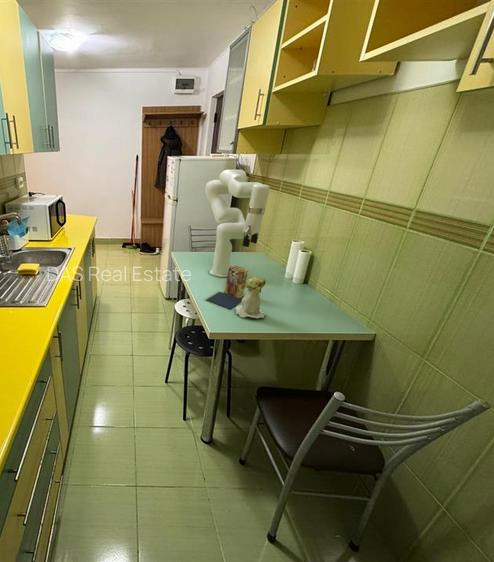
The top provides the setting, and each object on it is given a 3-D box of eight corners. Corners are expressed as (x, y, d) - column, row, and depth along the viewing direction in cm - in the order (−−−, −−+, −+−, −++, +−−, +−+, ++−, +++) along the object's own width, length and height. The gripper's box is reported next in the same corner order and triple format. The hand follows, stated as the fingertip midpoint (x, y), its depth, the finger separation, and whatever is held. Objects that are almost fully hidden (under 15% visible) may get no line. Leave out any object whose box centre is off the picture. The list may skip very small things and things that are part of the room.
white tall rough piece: (268, 321, 136) (278, 284, 129) (239, 319, 137) (247, 282, 129) (259, 308, 147) (267, 273, 140) (232, 307, 148) (239, 272, 140)
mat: (219, 292, 163) (219, 291, 163) (242, 300, 155) (243, 299, 155) (206, 300, 154) (206, 299, 154) (230, 309, 146) (230, 308, 146)
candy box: (243, 296, 159) (249, 269, 153) (239, 298, 157) (244, 271, 150) (228, 290, 165) (233, 264, 159) (223, 292, 163) (228, 266, 157)
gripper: (256, 207, 157) (249, 239, 164) (241, 211, 145) (234, 246, 152) (271, 209, 152) (263, 243, 159) (256, 214, 140) (249, 249, 148)
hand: (249, 244), depth 156 cm, fingers open, 8 cm apart
